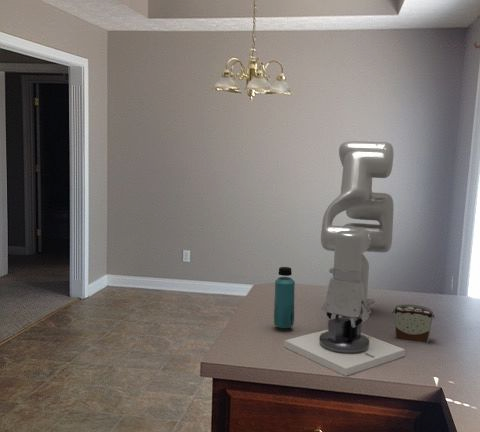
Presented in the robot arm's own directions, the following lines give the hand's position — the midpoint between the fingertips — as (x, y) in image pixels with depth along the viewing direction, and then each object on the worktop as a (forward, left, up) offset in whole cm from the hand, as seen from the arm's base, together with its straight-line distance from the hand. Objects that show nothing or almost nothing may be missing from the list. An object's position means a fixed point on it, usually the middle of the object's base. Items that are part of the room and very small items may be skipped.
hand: (343, 336), depth 161 cm
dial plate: (0, 0, -4) cm, 4 cm away
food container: (-26, +4, -5) cm, 27 cm away
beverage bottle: (+2, -24, -5) cm, 25 cm away
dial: (0, 0, -2) cm, 2 cm away
